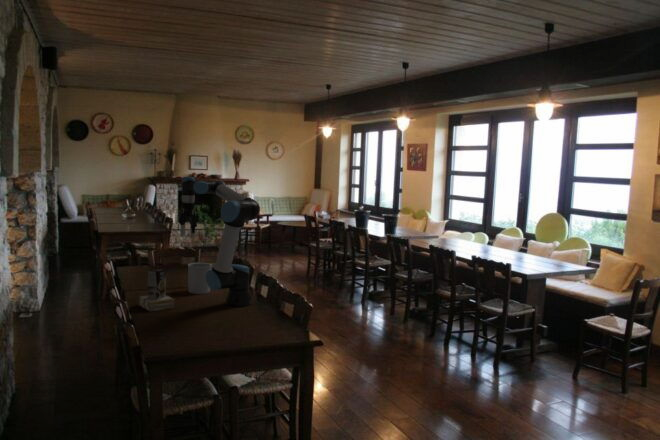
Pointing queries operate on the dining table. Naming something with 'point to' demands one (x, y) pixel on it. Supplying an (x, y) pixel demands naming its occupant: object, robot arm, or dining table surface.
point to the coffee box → (156, 284)
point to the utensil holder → (198, 278)
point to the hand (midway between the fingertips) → (187, 236)
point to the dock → (156, 303)
